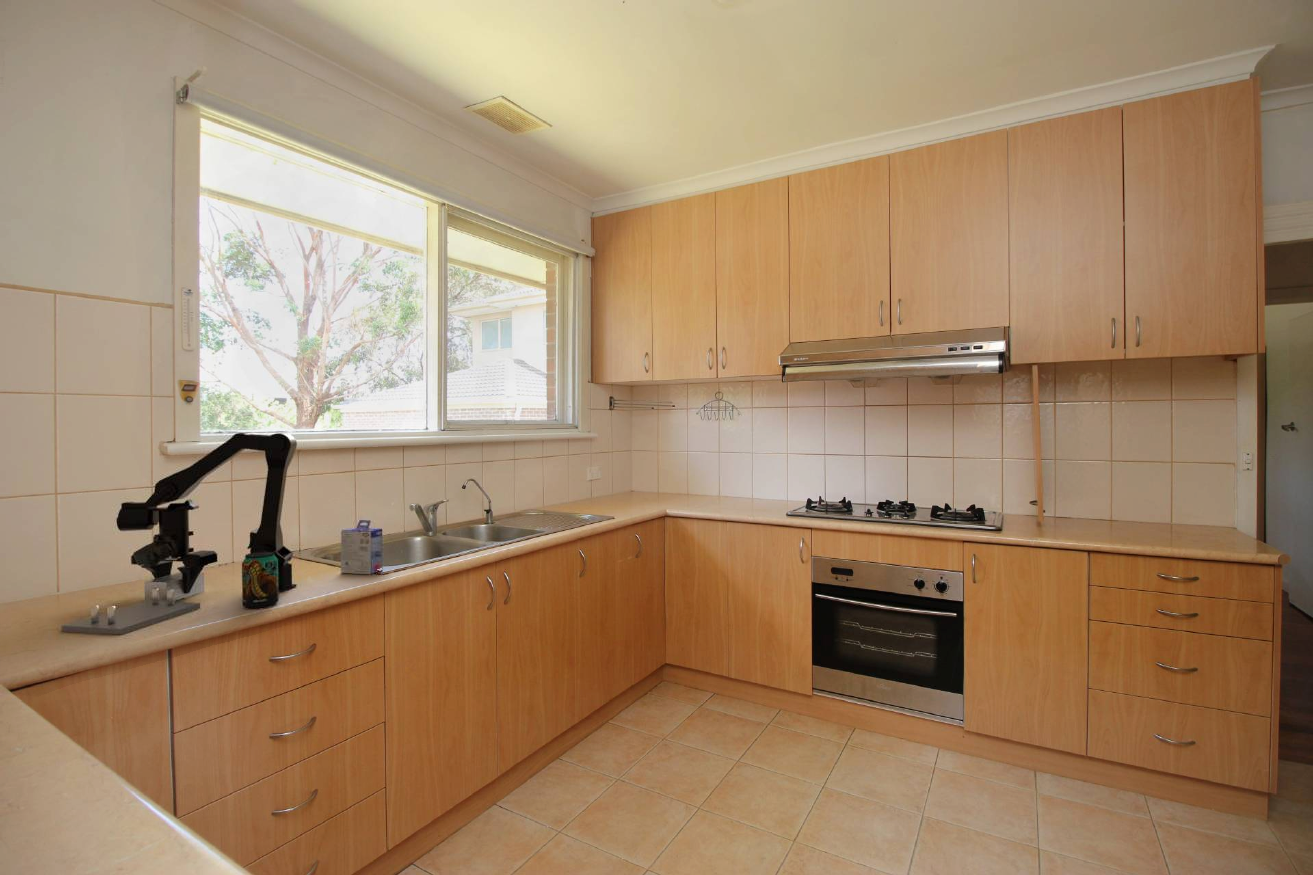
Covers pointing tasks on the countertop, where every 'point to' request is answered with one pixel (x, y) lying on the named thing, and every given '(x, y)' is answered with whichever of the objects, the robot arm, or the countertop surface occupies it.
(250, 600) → the beverage can
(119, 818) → the countertop surface
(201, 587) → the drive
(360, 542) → the ink cartridge box
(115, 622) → the pin tray
